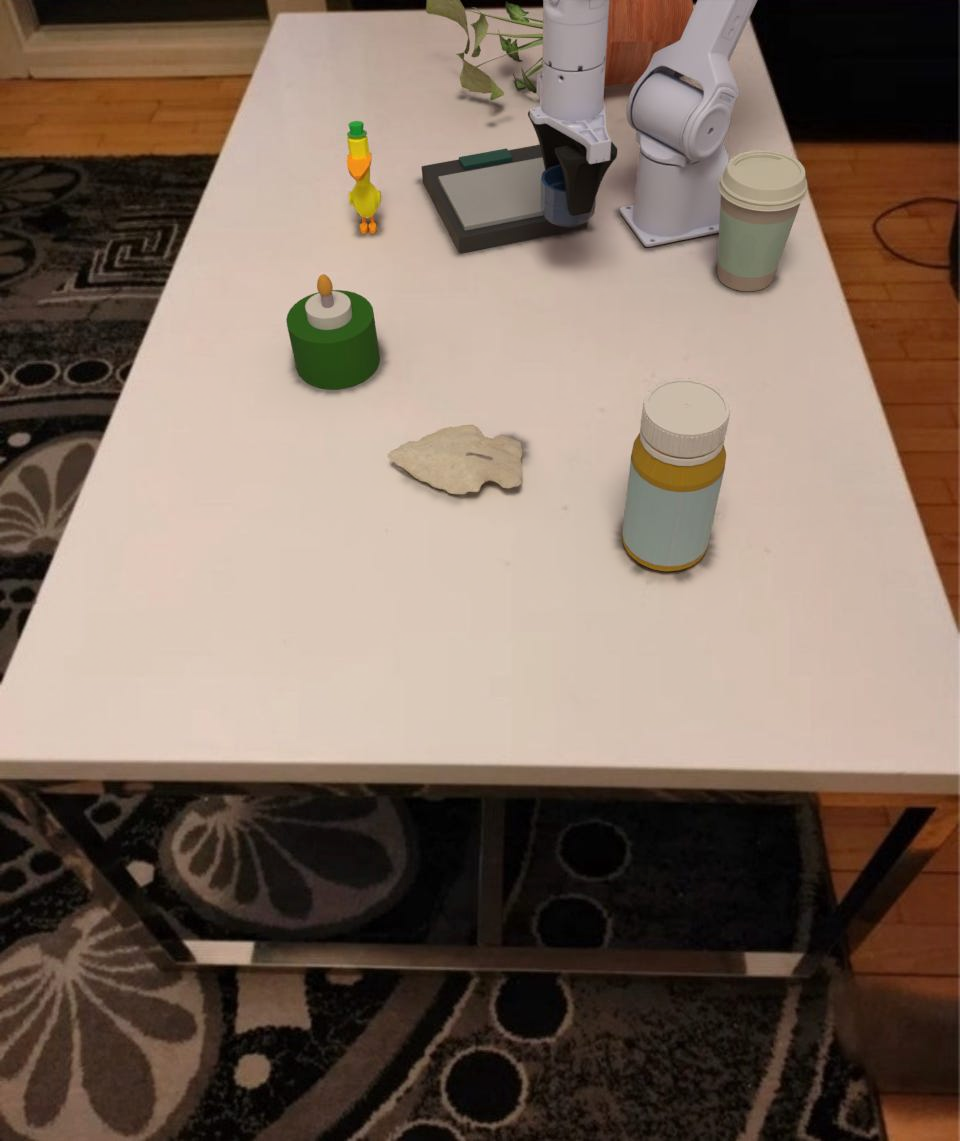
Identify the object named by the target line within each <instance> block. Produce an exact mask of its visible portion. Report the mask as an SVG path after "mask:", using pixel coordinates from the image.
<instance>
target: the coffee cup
mask: <svg viewBox="0 0 960 1141" xmlns="http://www.w3.org/2000/svg"><path fill="white" fill-rule="evenodd" d="M718 188H719V191H720V193H721V200H720V222H719V233H718V247H717V271H716V272H717V273H716V274H717V275H716V276H717V278H718V279H719V281H720V282H721V283H722V284H723V285H724V286H726V287H727V288H730V289H732V290H735V291H739V292H758V291H761V290H764V289H765V288H767V287H769V286H770V285H771V284H772V283H773V281H774V277H775V274H776V271H777V269H778V266H779V264H780V261H781V258H782V256H783V253H784V250H785V248H786V245H787V242H788V239H789V236H790V233H791V231H792V228H793V225H794V223H795V221H796V220H795V219H796V217H797V214H798V212H799V210H800V206H801V203H802V202H803V201H804V200H805V199H806V196H807V194H808V180H807V178H806V169H805V167H804V165H803V164H802V162H800V161H799V160H798V159H796V158H795V157H793V156H792V155H790V154H787V153H784V152H780V151H777V150H769V149H754V150H747V151H744V152H741V153H739V154H737V155H735V156H733V157H732V158H730V160H729V162H728V164H727V167H726V169H725V170H724V171H723V172H722V174H721V177H720V180H719V183H718Z"/></svg>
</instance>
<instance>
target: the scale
mask: <svg viewBox="0 0 960 1141" xmlns="http://www.w3.org/2000/svg"><path fill="white" fill-rule="evenodd" d="M544 171H545V167H544V162H543V157H542V152H541V148H540V144H534V145H531V146H530V145H529V146H523V147H519V148H513V149H508V148H501V149H496V150H490V151H484V152H479V153H474V154H468V155H462V156H459V157H458V159H453V160H448V161H447V160H446V161H441V162H437V163H432V164H426V165H425V164H424V165H421V175H422V176H421V178H422V183H423V186H424V187H425V189H426V191H427V194H428V195H429V196H430V198H431V201H432V203H433V204H434V207H435V209H436V211H437V212H438V214H439V217H440V219H441V220H442V223H443V224H444V227H445V228H446V230H447V232H448V234H449V236H450V238H451V240H452V242H453V244H454V246H455V248H456V250H457V252H458V254H465V253H471V252H474V251H480V250H485V249H490V248H495V247H500V246H505V245H509V244H515V243H519V242H525V241H531V240H535V239H540V238H545V237H550V236H555V235H561V234H566V233H570V232H575V231H581V230H584V229H585V230H586V229H588V223H589V222H588V221H589V220H588V221H587V222H585V223H583V224H581V225H578V226H572V227H563V226H558V225H555V224H552V223H550V222H549V221H548V220H547V219H546V218H545V217H544V216H543V214H542V213H541V211H540V203H541V176H542V173H543V172H544Z"/></svg>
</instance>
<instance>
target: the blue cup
mask: <svg viewBox="0 0 960 1141" xmlns="http://www.w3.org/2000/svg"><path fill="white" fill-rule="evenodd" d="M596 205H597V197H596V198H595V201H594V204H593V207H592V210H591V212H590V213H585V214H581V215H576V216H571V214H570V213H569V209H568V205H567V197H566V185H565V179H564V174H563V170H562V167H561V164H557V165H554V166H551V167H549V168H547V169H546V170H545V171H544V172H543V173H542V176H541V203H540V211H541V213H542V214H543V216H544V217H545V218H546V219H547V220H548V221H549V222H550V223H552V224H555V225H558V226H563V227H572V226H578V225H581V224H583V223H585V222H587V221H590V219H591V218H592V217H594V215H595V213H596ZM587 223H588V222H587Z"/></svg>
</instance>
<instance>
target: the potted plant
mask: <svg viewBox="0 0 960 1141" xmlns="http://www.w3.org/2000/svg"><path fill="white" fill-rule="evenodd" d="M425 5H426V6H425V12H426V14H428V15H433V16H439V17H443V18H446V19H449V20H451V21H453V22H456V23H457V24H459V26H460V27H461V28H462V29H463V30H464V31H465V34H466V36H467V42H466V46H465V49H464V51H463V52H460V53H455V55H456V56H458V57H459V58H460V59H461V60H462V70H461V71H460V72H461V73H460V75H459V81H460V86H461V88H463V89H466V90H468V91H469V92H472V93H479V94H480V93H481V94H490V98H489V99H490V101H494V100H496V99H498V98H501V97H503V96H505V92H504V90H502V89H501V88H500V87H499V86H498V85H497V84H496V82H494V80H493V78H491V77H490V76H489V75H488V74H487V73H485V72H484V71H483V70H481V69H480V68H479V67H480V66H483V65H485V64H487V63H489V62H492V61H495V60H497V59H500V58H503V57H505V56H508V57H509V58H511V59H512V60H513V61H515V62H518V63H521V62H523V60H522V59H521V58H520V55H519V52H521V51H525V50H528V49H531V48H534V47H537V46H541V45H542V46H543V33H522V34H520V33H519V34H511V33H500V29H498V31H497V33H496V32H488V29H489V25H490V24H489V22H488V20H487V18H486V17H488V18H492V19H496V20H500V21H504V22H506V23H511V24H516V25H520V26H526V27H528V28H529V27H530V28H534V29H539V30H543V19H535V18H532V17H526V16H527V15H528V14H530V12H529V11H525V9H522V8H521V6H520V5H518V4H514V3H509V2H508V1H507V0H506V1H505V12H506V13H507V14H508V16H509V18H505V17H500V16H495V15H491V14H487V13H482V12H481V11H480V10H479V9H478V8H477V7H474V6H471V8H472V9H475V10H476V11H473V10H468V9H465V6H464V5H463V3H462V1H461V0H426V4H425ZM693 10H694V1H693V0H609V16H608V32H607V48H606V65H605V81H604V88H605V87H612V86H613V87H614V86H620V85H631V84H636V82H637V81H638V80H639V78H640V77H641V76H642V75H643V74H644V72H645V71H646V69H647V67H648V66H649V64H650V61H651V59H652V57H653V55H654V53H655V52H657V51H659V50H661V49H663V48H665V47H667V46H669V45H672V44H674V43H676V42H678V41H679V40H680V39H681V37H682V34H683V32H684V30H685V28H686V25H687V23H688V21H689V19H690V16H691V14H692V12H693ZM467 11H468V12H471V13H473V14H478V15H479V18H478V19H477V20H476V22H473V23H471V24H470V26H471V27H472V29H473V30H474V46H473V51H472V53H471V55H470V57H471V58H478V57H479V56H480V54H481V52H482V49H481V46H480V44H481V43H482V42H483V41H484V39H485V38H486V36H487V35H493V36H494V35H495V36H499V42H500V46H501V50H502V51H503V52H505V53H506V54H504V55H501V56H499V57H496V58H493V59H490V60H487V61H484V62H483V63H480V64H478V65H476V66H475V65H473V64H472V63H470V62H468V61H467V60H466V59H465V55H468V54H469V51H470V46H471V45H470V44H471V41H470V40H471V39H470V35H469V28H468V19H467V13H466V12H467ZM530 21H532V22H530ZM535 22H536V23H535ZM504 37H507V39H506V38H504ZM512 38H514V39H515V38H516V39H515V40H514V41H512ZM518 38H519V39H534V40H533V41H530V42H528V43H525V44H523V45H520V46H518ZM539 63H540V64H539ZM537 64H539V65H538V66H536V65H537ZM535 66H536V67H535ZM533 67H534V68H533ZM542 67H543V56H542V57H540V58H539V59H538V61H536V62H535V63H534V64H533V65H532V66H531V67H530V68H528V69H527V70H526V71H524V70H523V68H521V70H520V71H521V76H520V77H521V78H522V80H523V81H522V80H520V79H518V78H516V74H515V73H513V74H512V75H513V78H514V81H515V83H516V87H517V88H518V89H524V88H527V89H528V91H529V92H532V93H533V94H536V92H537V86H535V85H534V83H533V82H532V81H531V80H530V79H529V77H531V76H532V75H534V74H535V73H537V72H538V71H539V70H541V69H542ZM530 70H531V71H530ZM529 71H530V72H529ZM527 73H528V74H527ZM526 74H527V75H526Z"/></svg>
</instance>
